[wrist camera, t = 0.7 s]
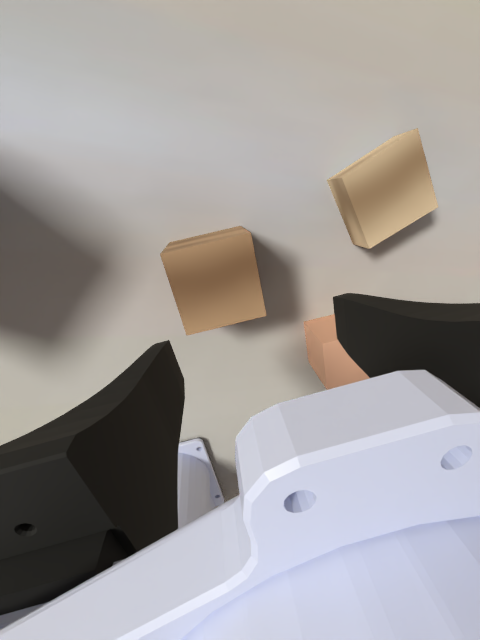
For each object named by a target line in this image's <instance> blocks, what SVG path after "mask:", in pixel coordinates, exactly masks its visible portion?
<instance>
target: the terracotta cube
mask: <svg viewBox="0 0 480 640" xmlns="http://www.w3.org/2000/svg"><path fill="white" fill-rule="evenodd" d="M304 328H305V336H306V344H307V352H308V359H309V363H310V365H311V366H312V368H313V369H314V371H315V372H316V374H317V375H318V377H319V378H320V380H321V381H322V383H323V384H324V386H325V388H326V389H327V390H328V389H332V388H336V387H340V386H344V385H347V384H351V383H355V382H358V381H362V380H366V379H369V376H368V375H367V374H366V373H365V372H364V371H363V370H362V369H361V368H360V367H359V366H358V365H357V364H356V363H355V362H354V361H353V360H352V359H351V357H350V356H349V355H348V354H347V353H346V351H345V350H344V348H343V347H342V345H341V344H340V342H339V341H338V339H337V334H336V324H335V314H333V315H329V316H325V317H321V318H317V319H313V320H309V321H305V322H304Z"/></svg>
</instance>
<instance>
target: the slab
mask: <svg viewBox="0 0 480 640" xmlns="http://www.w3.org/2000/svg"><path fill="white" fill-rule="evenodd" d="M327 181H328V184H329V186H330V189H331V191H332V194H333V196H334V198H335V201H336V203H337V206H338V208H339V211H340V213H341V215H342V218H343V220H344V223H345V225H346V228H347V230H348V232H349V235H350V237H351V240H352V242H353V244H354V245H358V246H361V247H365V248H368V249H370V248H372V247H373V246H375V245H377V244H378V243H380V242H382V241H383V240H385V239H386V238H388V237H390V236H391V235H393V234H395V233H396V232H398V231H400V230H401V229H403V228H405V227H406V226H408V225H409V224H411V223H413V222H414V221H416V220H418V219H419V218H421V217H423V216H424V215H426V214H428V213H429V212H431V211H432V210H434V209H436V208H437V207H438V204H437V201H436V197H435V193H434V189H433V185H432V181H431V177H430V174H429V170H428V166H427V162H426V158H425V154H424V151H423V147H422V143H421V139H420V135H419V131H418V128H417V129H414V130H411V131H408V132H405V133H402V134H400V135H397V136H394V137H392V138H391V139H389V140H388V141H386V142H385V143H383V144H382V145H380V146H379V147H377V148H376V149H374V150H372V151H371V152H369V153H368V154H366V155H365V156H363V157H362V158H360V159H359V160H357V161H356V162H354V163H353V164H351V165H349V166H348V167H346V168H345V169H343V170H342V171H340V172H339V173H337V174H336V175H334V176H333V177H331V178H329V179H328V180H327Z"/></svg>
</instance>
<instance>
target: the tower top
mask: <svg viewBox="0 0 480 640" xmlns="http://www.w3.org/2000/svg"><path fill="white" fill-rule="evenodd" d="M160 255H161V258H162V261H163V265H164V268H165V271H166V274H167V277H168V280H169V283H170V286H171V289H172V292H173V295H174V298H175V301H176V304H177V307H178V310H179V313H180V316H181V319H182V322H183V326H184V329H185V332H186V335H191V334H195V333H199V332H203V331H207V330H211V329H215V328H219V327H223V326H227V325H231V324H236V323H240V322H244V321H248V320H252V319H256V318H260V317H264V316H266V310H265V305H264V300H263V294H262V289H261V284H260V278H259V273H258V268H257V262H256V257H255V252H254V246H253V241H252V236H251V232H249V231H247V230H246V229H241V230H237V231H233V232H228V233H224V234H220V235H216V236H211V237H207V238H203V239H199V240H194V241H190V242H186V243H182V244H177V245H173V246H169V247H166V248H165V249H164V250H163V251H162V253H161V254H160Z"/></svg>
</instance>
